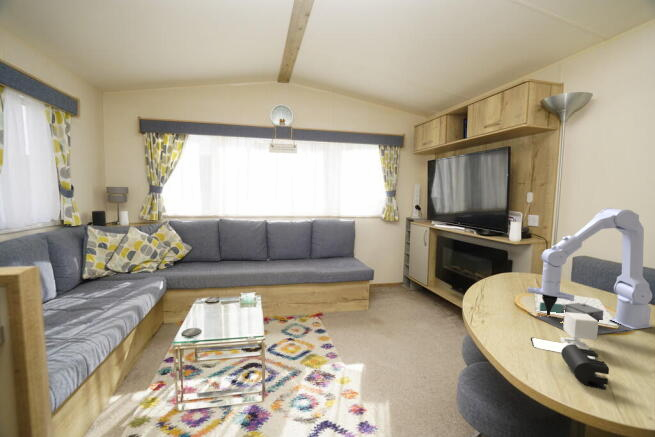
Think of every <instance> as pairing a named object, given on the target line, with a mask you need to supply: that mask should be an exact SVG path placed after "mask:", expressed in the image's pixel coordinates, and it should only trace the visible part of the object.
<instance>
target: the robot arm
mask: <svg viewBox="0 0 655 437" xmlns="http://www.w3.org/2000/svg"><path fill="white" fill-rule="evenodd" d="M604 229H616V230H617V231H618V232H620V233H621V235H622V238H621V239H622V240H621V241H622V242H621V243H622V244H621V246H622V248H621V274H620V275H618V276H617V277H616V282H615V284H614V286H613V291H614V293H615V294H617V295H616V297H617V302H616V304H617V305H616V311H615V317H614V318H612V319H613V320H614V321H615V322H617V323H616V324H618V323H619V324H618V325H620V324H621V326H623V327H626V328H629V329H631V330H639V329H645V328H652V327H653V326H652V324H650V319H651V311H652V310H651V305H649V303H650V302H651V300H652V298H653V293H652V291H651V289H650V283H649V282H647V280H646V279H645V278H644V274H643V272H644V237H645V236H644V226H643V225H642V223H641V221H640V214H638V213H636V212H634V211H632V210H631V209H619V208H613V207H606V208H603V209H602V210H600V212H598V213H596V214H595V215H594V217H593V218H592V219H591V220H590V221H589V222H587V223H586V225H584V226H583V227H582V228H581V229H580V230H578V231H577V232H576V233H574V235H566V236H563V237H562V238H561V240H560V241H558V242H557V243H556V244H555V245H552V246H551V248H547V249H544V251H542V254H540V259H541V260H542V262H543V263H542V264H543V265H542V266H543V268H542V275H541V276H542V277H541V278H542V279H541V287H539V288H538V287H533V286H531V287H530V286H528V287H527V290H526V291H527V292H526V293H527V294H533V295H534V294H535V295H539V296H541V298H542V301H543V302H544V303H545V306H546V310H547V315H550V311H551V309H552V307H553V305H554V304H555V303H556V304H557V301H558V299H562V300H567V301H570V302H574V301H575V295H574V294H572V293H571V294H570V293H568V292H562V291H561V281H562V279H561V278H562V268H563V266H564V265H566V262H567V259H568V258H569V257H570V256H571V255H572V254H574V253H575V252H577V251H578V250H579V249H581V248H582V246H583V242H585V241H587V240H588V239H589V238H591V237H593V235H595V234H597V233H598V232H600V231H602V230H604ZM615 322H614V323H615Z"/></svg>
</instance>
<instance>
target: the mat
mask: <svg viewBox="0 0 655 437" xmlns="http://www.w3.org/2000/svg"><path fill="white" fill-rule="evenodd" d="M530 313H531V312H527V314H528V315H530V316H532V317H535V319H537V320H541V321H543V322H545V323H547V324H549V325H551V326H553V327H555V328H557V329H559V330H562V331H564V329H563V326H564V324H563V323H560V322H562V321H563V322H564V319H561V318H557V317H551V316H549V317H547V316H541V317H540V316H534V315H532V314H530ZM619 325H620V324H619ZM625 330H630V331H632V329H631V328H628V327H626V326H623V325H620V326H619V327H618V328H617V329H610V328H607V327H602V326H598V332H597V336H600V335H607V334H613V333H612V332H616V333H620V332H619V331H623V332H626V331H625ZM564 332H565V331H564Z"/></svg>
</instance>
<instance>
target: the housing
mask: <svg viewBox="0 0 655 437" xmlns="http://www.w3.org/2000/svg"><path fill="white" fill-rule="evenodd" d="M564 304H565V303H564ZM565 312H569V313H582V314H588V315H589V316H591V317H592V318H594V319H596V320H597V321H598V322H599V320H603V319H604V310H603V309H601V308H597V307H595V306H593V305H590V304H587V303H585V302H573V303H567V304H565Z"/></svg>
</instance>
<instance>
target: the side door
mask: <svg viewBox="0 0 655 437" xmlns="http://www.w3.org/2000/svg"><path fill="white" fill-rule="evenodd" d="M538 309H539V310H540V311H547V310H546V306H545V303H544V301H543V302H542V301H541V302H539V308H538ZM564 310H565V303H557V302H556V303H555V304H554V305H553V307H552V309H551V311H550V312H556V313H564Z"/></svg>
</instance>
